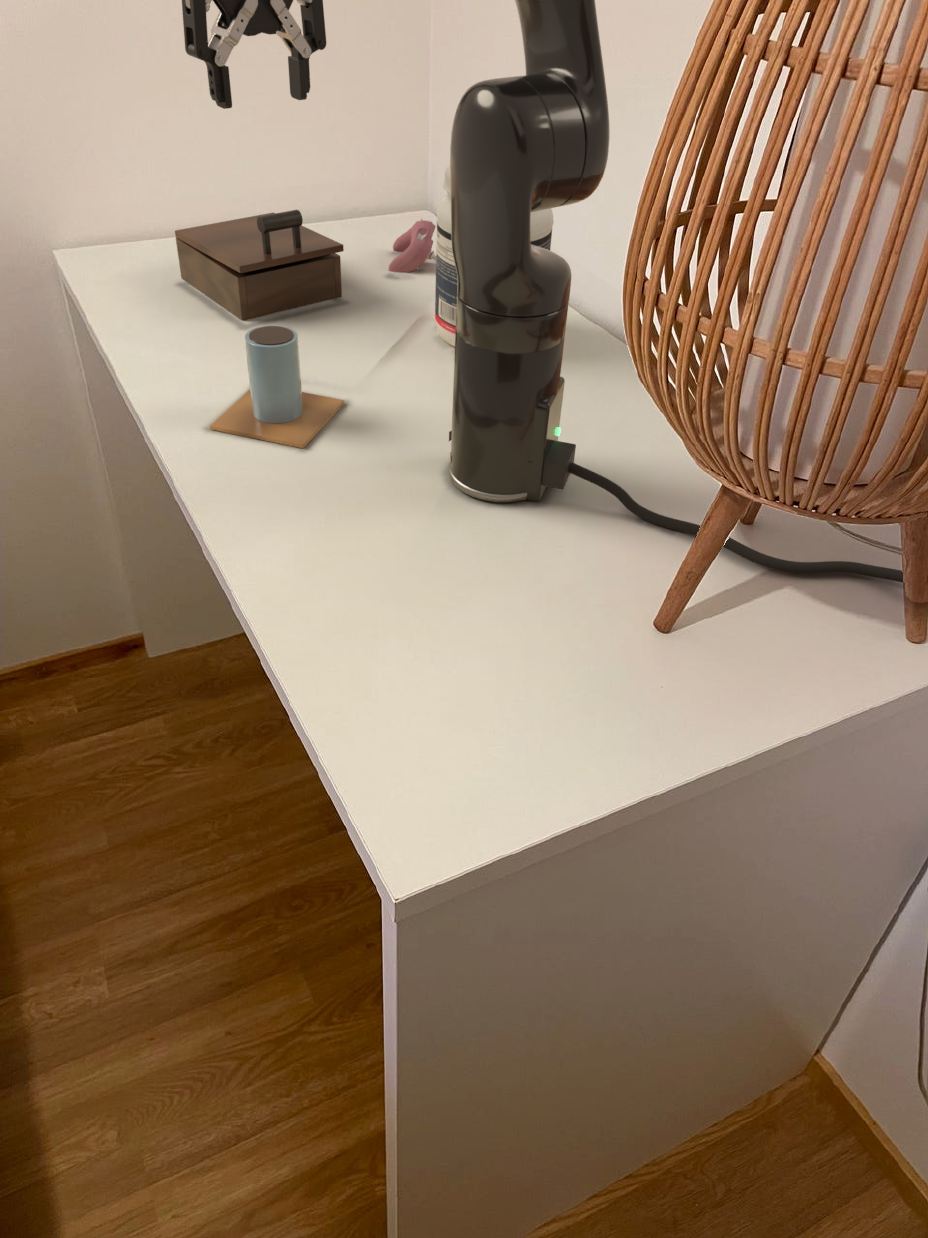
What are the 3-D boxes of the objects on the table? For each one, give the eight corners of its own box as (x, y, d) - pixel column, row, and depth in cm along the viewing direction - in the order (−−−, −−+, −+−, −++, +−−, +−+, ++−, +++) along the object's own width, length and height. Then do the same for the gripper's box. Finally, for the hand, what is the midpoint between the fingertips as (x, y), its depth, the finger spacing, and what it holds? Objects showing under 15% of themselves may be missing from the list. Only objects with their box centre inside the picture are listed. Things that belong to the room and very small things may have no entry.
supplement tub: (545, 319, 120) (561, 160, 108) (538, 364, 110) (555, 194, 98) (441, 310, 121) (446, 150, 109) (425, 353, 111) (429, 183, 99)
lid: (344, 251, 116) (341, 208, 113) (240, 273, 109) (234, 228, 106) (274, 218, 126) (270, 178, 123) (175, 236, 120) (168, 194, 117)
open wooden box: (342, 303, 121) (340, 255, 117) (242, 327, 114) (237, 277, 110) (277, 264, 130) (274, 218, 127) (182, 284, 123) (175, 237, 120)
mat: (344, 403, 101) (344, 399, 101) (303, 448, 93) (303, 444, 93) (256, 386, 103) (256, 382, 103) (209, 429, 95) (209, 425, 95)
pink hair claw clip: (416, 291, 129) (441, 244, 125) (385, 274, 128) (409, 226, 124) (419, 264, 137) (443, 219, 133) (390, 248, 135) (413, 202, 131)
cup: (311, 405, 99) (306, 329, 94) (289, 427, 96) (283, 349, 90) (266, 396, 100) (259, 320, 95) (243, 418, 97) (235, 340, 92)
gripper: (193, -91, 83) (216, 118, 93) (335, -92, 90) (342, 103, 100) (154, -99, 87) (180, 102, 97) (293, -99, 94) (303, 88, 104)
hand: (262, 102), depth 99 cm, fingers open, 8 cm apart
